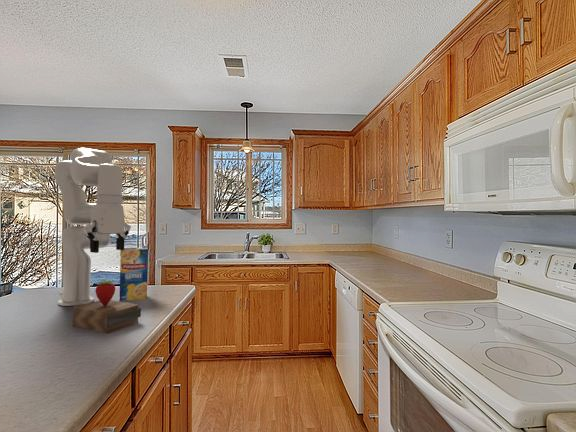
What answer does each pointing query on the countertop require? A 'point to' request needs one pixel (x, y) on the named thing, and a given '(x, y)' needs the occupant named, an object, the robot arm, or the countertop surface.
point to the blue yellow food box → (133, 273)
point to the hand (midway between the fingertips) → (107, 251)
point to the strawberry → (105, 291)
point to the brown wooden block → (105, 315)
